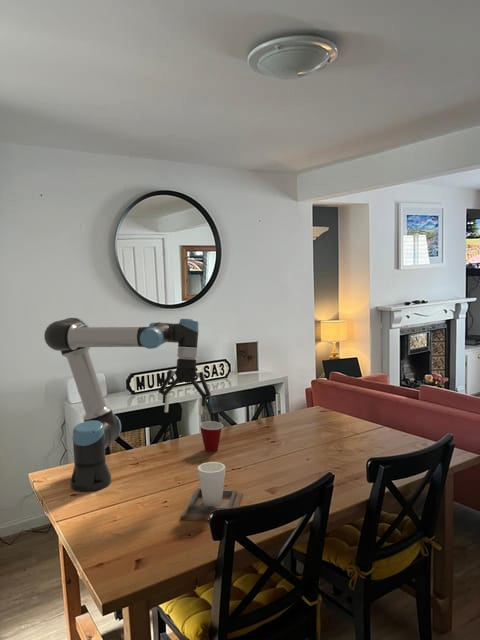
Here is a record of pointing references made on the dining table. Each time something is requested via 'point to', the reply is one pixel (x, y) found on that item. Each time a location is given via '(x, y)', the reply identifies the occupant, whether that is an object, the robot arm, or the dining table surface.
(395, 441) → the dining table surface
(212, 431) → the plastic cup
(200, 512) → the holder board
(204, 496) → the foam cup
